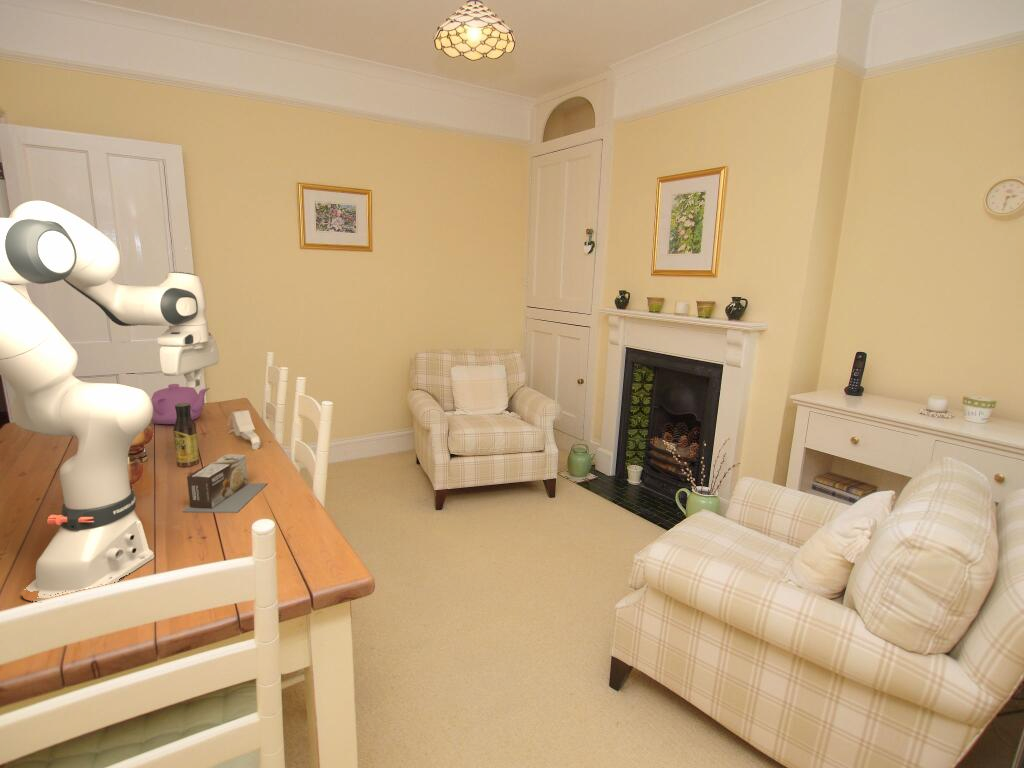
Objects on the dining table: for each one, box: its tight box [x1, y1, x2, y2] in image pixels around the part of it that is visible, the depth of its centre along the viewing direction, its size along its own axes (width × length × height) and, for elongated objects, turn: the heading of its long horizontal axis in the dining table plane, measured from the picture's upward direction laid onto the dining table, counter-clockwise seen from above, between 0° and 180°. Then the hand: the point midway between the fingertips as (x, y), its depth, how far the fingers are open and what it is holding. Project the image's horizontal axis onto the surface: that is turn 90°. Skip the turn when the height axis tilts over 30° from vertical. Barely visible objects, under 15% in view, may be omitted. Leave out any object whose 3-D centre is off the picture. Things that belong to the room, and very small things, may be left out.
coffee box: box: [186, 453, 249, 508], centre depth 143 cm, size 9×6×16 cm
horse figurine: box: [227, 409, 261, 451], centre depth 188 cm, size 5×16×25 cm
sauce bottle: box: [172, 403, 200, 468], centre depth 164 cm, size 6×6×20 cm
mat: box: [182, 482, 268, 514], centre depth 144 cm, size 18×14×1 cm
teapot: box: [150, 383, 210, 425], centre depth 208 cm, size 23×21×15 cm
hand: (194, 386), depth 141 cm, fingers closed
